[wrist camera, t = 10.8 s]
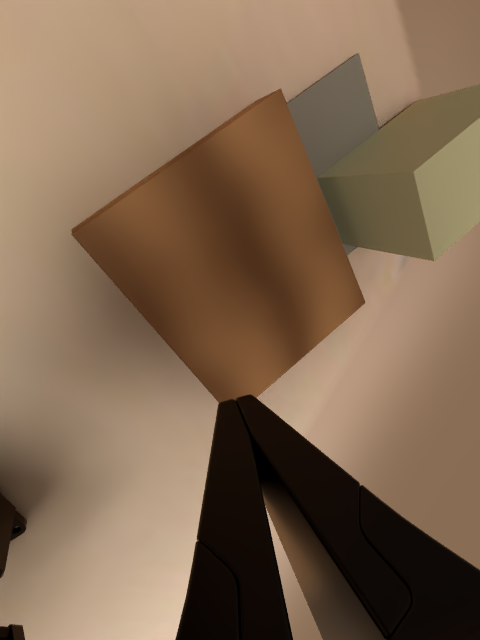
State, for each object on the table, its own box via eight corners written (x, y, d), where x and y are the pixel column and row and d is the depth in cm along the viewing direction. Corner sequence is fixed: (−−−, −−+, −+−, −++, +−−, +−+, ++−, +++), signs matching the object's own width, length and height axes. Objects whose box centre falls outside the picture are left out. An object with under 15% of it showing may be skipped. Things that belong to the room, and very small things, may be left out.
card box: (434, 261, 18) (543, 164, 19) (413, 171, 15) (540, 68, 16) (343, 244, 24) (430, 171, 25) (316, 178, 21) (415, 101, 22)
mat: (330, 264, 24) (334, 265, 24) (266, 116, 19) (270, 115, 19) (396, 210, 25) (401, 210, 25) (353, 55, 20) (358, 53, 20)
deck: (218, 398, 24) (232, 418, 22) (71, 229, 17) (71, 234, 14) (341, 293, 25) (365, 302, 23) (256, 100, 18) (280, 88, 16)
